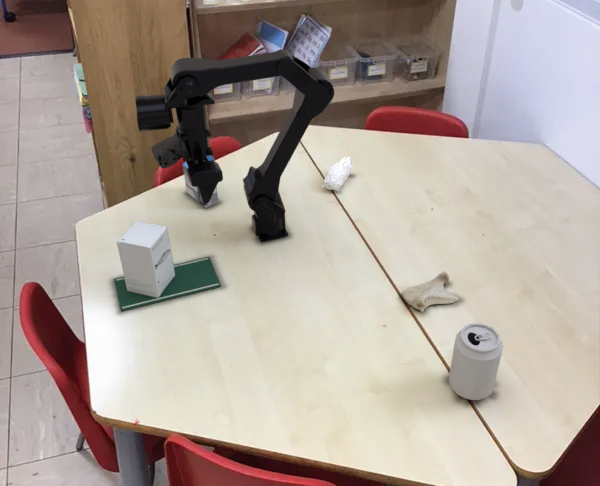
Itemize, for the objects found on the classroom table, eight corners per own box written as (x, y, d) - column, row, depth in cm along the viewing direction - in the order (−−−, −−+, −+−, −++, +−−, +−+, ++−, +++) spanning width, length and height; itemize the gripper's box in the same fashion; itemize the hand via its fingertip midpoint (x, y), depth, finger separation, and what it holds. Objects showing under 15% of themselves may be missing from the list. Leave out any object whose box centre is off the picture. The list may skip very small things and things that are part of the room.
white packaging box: (159, 299, 132) (149, 248, 125) (126, 291, 134) (114, 241, 127) (176, 275, 138) (168, 226, 130) (144, 268, 140) (134, 219, 132)
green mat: (209, 257, 143) (209, 256, 143) (221, 286, 135) (221, 285, 135) (114, 280, 138) (113, 278, 137) (121, 311, 130) (120, 310, 130)
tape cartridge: (185, 193, 163) (179, 149, 156) (199, 187, 166) (193, 143, 158) (206, 209, 158) (200, 163, 151) (219, 202, 160) (215, 157, 153)
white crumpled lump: (331, 176, 171) (318, 187, 162) (339, 151, 168) (326, 162, 159) (349, 183, 170) (337, 195, 161) (357, 158, 167) (345, 169, 158)
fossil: (465, 298, 131) (467, 285, 129) (419, 316, 127) (420, 303, 125) (443, 278, 136) (445, 265, 134) (399, 295, 132) (400, 281, 130)
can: (443, 370, 117) (451, 320, 110) (485, 367, 117) (496, 317, 110) (454, 405, 111) (463, 354, 103) (499, 401, 111) (511, 351, 104)
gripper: (143, 111, 136) (154, 177, 145) (160, 154, 122) (171, 224, 131) (197, 102, 139) (204, 167, 148) (220, 143, 125) (226, 212, 134)
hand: (200, 191), depth 140 cm, fingers open, 9 cm apart
